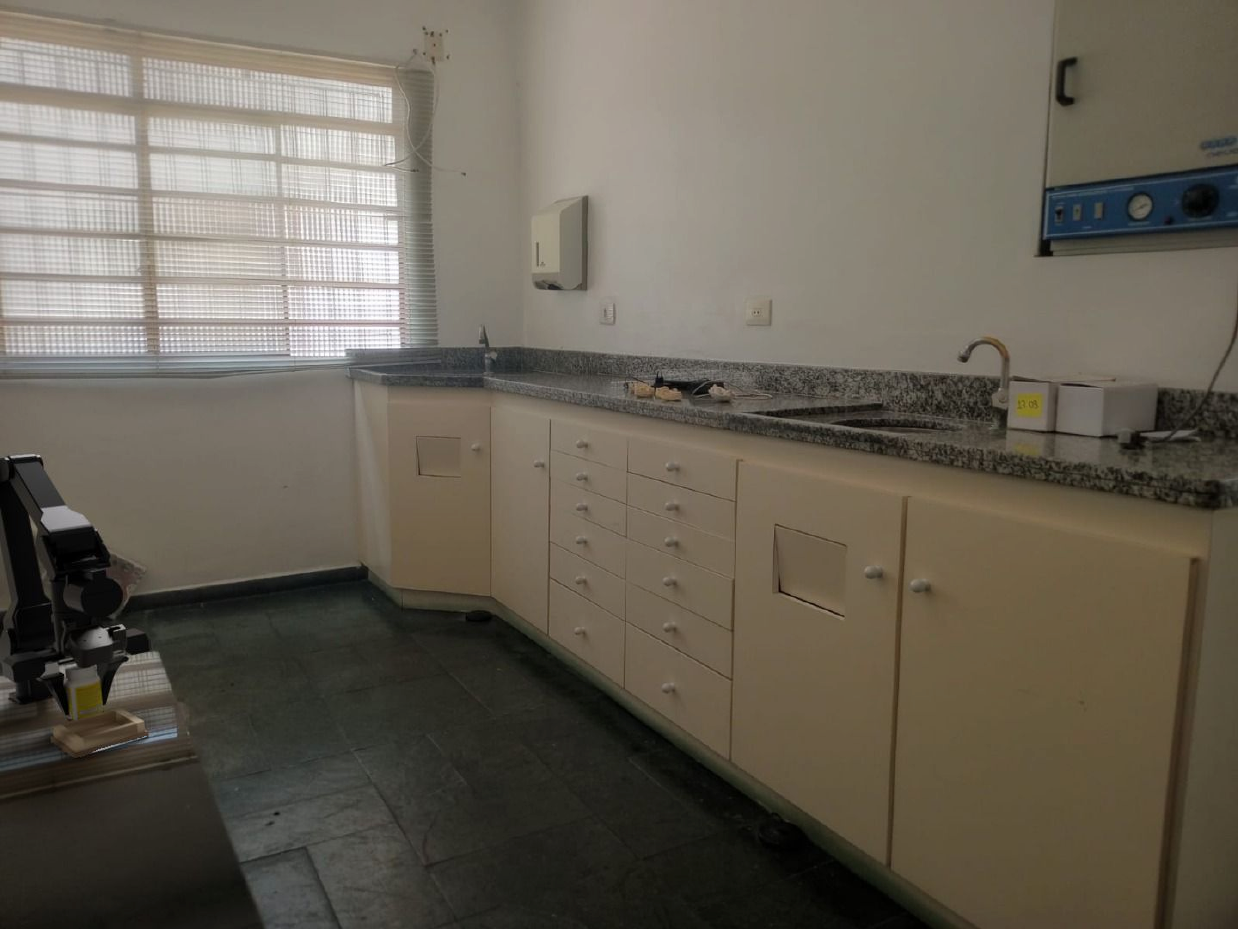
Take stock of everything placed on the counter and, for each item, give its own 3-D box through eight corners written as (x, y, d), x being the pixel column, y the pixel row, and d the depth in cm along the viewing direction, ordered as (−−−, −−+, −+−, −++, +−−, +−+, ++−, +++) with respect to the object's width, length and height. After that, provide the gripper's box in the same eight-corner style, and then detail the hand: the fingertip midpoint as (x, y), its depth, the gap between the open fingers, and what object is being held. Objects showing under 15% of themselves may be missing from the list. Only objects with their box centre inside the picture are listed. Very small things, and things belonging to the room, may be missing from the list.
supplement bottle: (110, 714, 145) (105, 660, 144) (90, 726, 140) (85, 671, 139) (81, 714, 145) (76, 661, 144) (60, 726, 140) (54, 671, 140)
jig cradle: (51, 742, 134) (49, 726, 134) (122, 721, 141) (121, 706, 141) (75, 759, 128) (73, 742, 128) (148, 736, 135) (147, 721, 135)
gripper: (20, 631, 128) (32, 742, 130) (162, 602, 142) (171, 703, 144) (-5, 618, 136) (7, 724, 138) (132, 592, 150) (141, 688, 151)
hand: (84, 709), depth 142 cm, fingers closed on supplement bottle, 5 cm apart
